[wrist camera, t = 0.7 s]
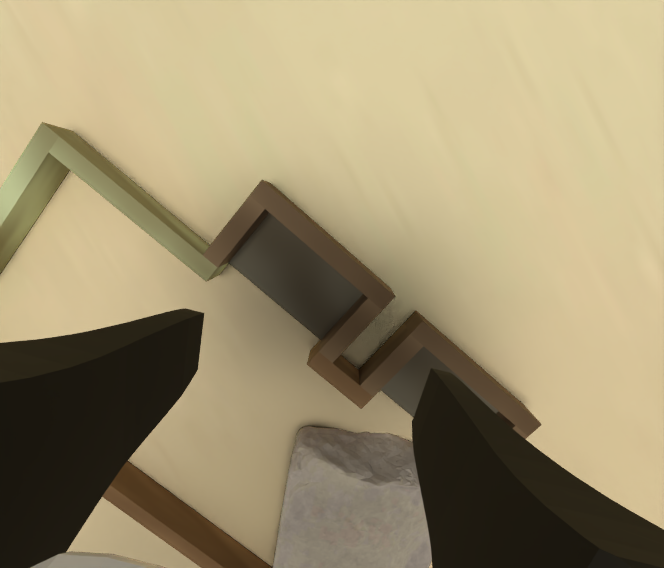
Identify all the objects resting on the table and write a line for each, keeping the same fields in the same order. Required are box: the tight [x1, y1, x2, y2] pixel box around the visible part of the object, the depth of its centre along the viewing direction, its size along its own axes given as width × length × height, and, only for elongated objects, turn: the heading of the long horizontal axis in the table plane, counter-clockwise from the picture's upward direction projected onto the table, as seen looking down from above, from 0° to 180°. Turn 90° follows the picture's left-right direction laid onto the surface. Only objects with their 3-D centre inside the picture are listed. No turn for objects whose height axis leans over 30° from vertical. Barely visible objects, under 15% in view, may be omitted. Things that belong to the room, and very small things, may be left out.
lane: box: [0, 122, 542, 568], centre depth 22 cm, size 21×37×2 cm, turn 49°
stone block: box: [273, 426, 432, 568], centre depth 23 cm, size 12×5×10 cm
